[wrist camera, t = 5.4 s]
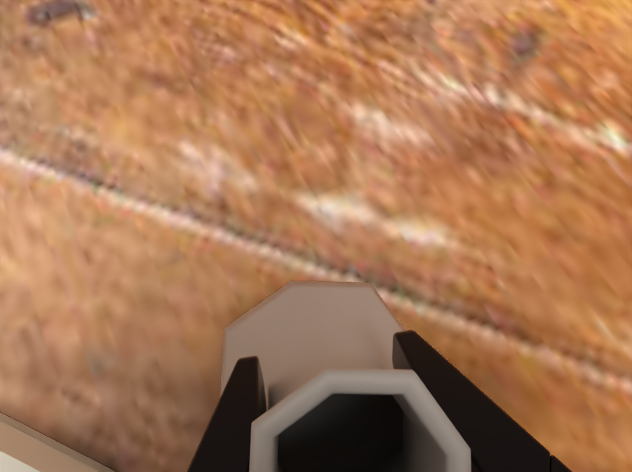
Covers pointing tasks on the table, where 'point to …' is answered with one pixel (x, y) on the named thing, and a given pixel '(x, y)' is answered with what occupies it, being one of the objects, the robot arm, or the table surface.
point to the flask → (337, 386)
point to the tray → (38, 452)
